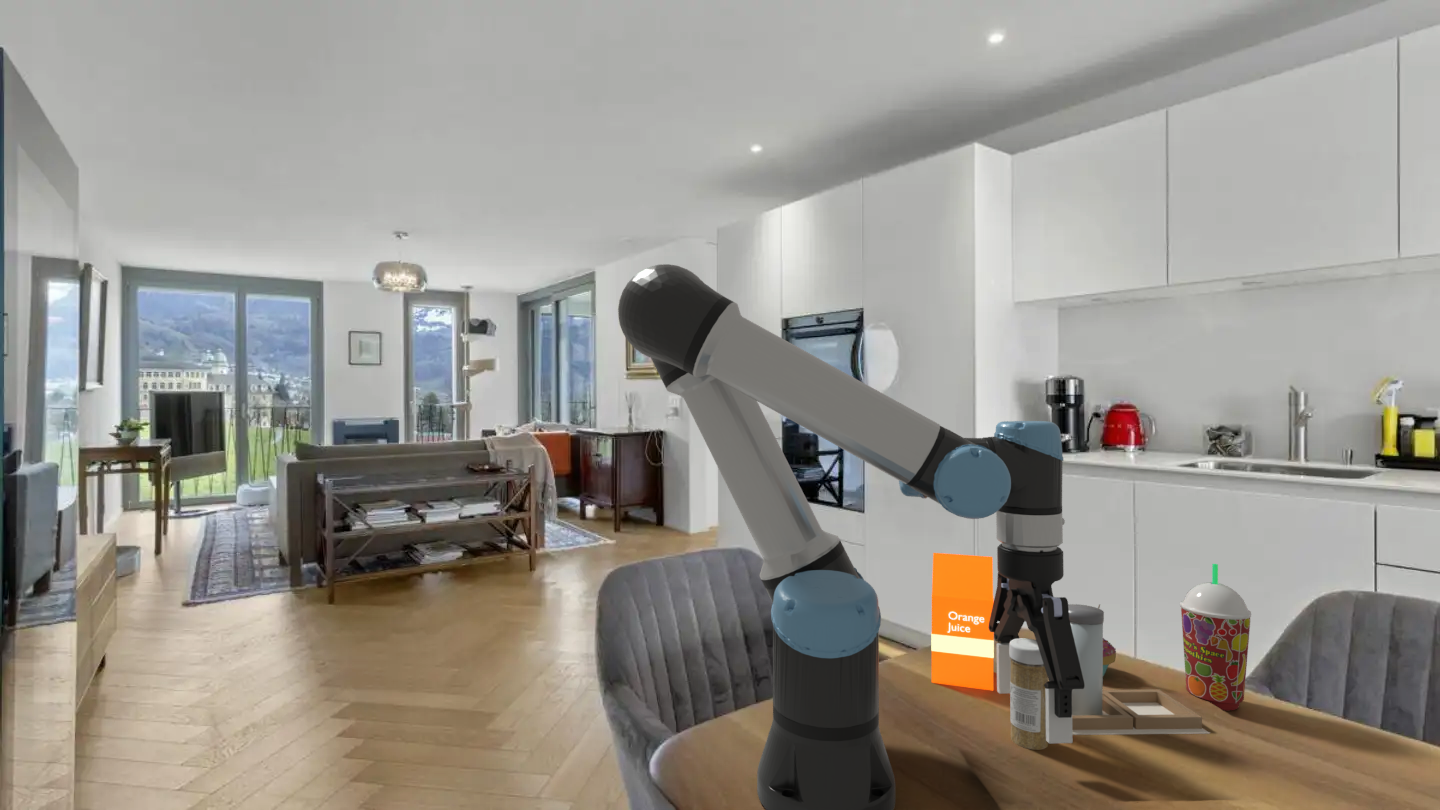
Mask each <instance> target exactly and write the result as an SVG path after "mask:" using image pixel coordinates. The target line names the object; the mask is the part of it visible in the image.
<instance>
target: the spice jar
mask: <svg viewBox="0 0 1440 810" xmlns="http://www.w3.org/2000/svg"><path fill="white" fill-rule="evenodd" d="M1009 655H1010V660H1011V680H1010V693H1009V695H1010V696H1009V698H1010V699H1009V701H1010V703H1009V705H1010V706H1009V708H1010V712H1009V713H1010V715H1009V716H1010V717H1009V718H1010V719H1009V720H1010V740H1011V741H1012V743H1013V744H1015V745H1017V746H1019V747H1021V748H1024V749H1028V750H1033V751H1034V750H1037V751H1039V750H1045V749H1046V748H1048V746H1049V743H1048V742H1047V741H1046V699H1045V687H1044V685H1045V683H1046V682H1047V681H1049V679H1048V676H1047V673H1046V670H1045V667H1044V664H1043V660H1042V657H1041V654H1040V651H1039V648H1038V645H1037V642H1036V639H1032V638H1026V637H1025V638H1024V637H1023V638H1022V637H1021V638H1020V637H1019V638H1018V639H1013V640H1011V641H1010V644H1009Z"/></svg>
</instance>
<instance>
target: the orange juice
mask: <svg viewBox="0 0 1440 810" xmlns="http://www.w3.org/2000/svg"><path fill="white" fill-rule="evenodd" d="M932 556H933V557H932V578H931V579H932V584H931V634H930V636H931V638H930V640H931V642H930V643H931V644H930V645H931V648H930V649H931V684H932V683H933V684H939V685H947V686H954V687H962V688H963V687H964V688H969V689H977V690H978V689H979V690H984V691H992V692H993V691H994V658H995V653H994V652H995V639H994V632H990V631H989V628H988V627H989V621H990V616H991V612H992V607H993V603H994V599H995V597H994V576H993V575H994V567H993V565H994V564H993V556H985V555H983V556H982V555H972V554H971V555H970V554H958V553H957V554H956V553H943V552H941V553H940V552H933V553H932Z"/></svg>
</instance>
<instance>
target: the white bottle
mask: <svg viewBox="0 0 1440 810" xmlns="http://www.w3.org/2000/svg"><path fill="white" fill-rule="evenodd" d="M1068 609H1069V620H1070V624H1071V628H1072V633H1073V637H1074V641H1075V645H1076V650H1077V654H1078V658H1079V662H1080V667H1081V671H1082V675H1083V680H1084V685H1085V686H1084V689H1073V690H1072V715H1102V698H1103V690H1104V689H1103V688H1104V687H1103V686H1104V685H1103V681H1104V679H1103V678H1104V676H1103V638H1104V634H1103V633H1104V621H1105V620H1104V619H1105V614H1104V613H1105V612H1104V610H1102V609H1101V608H1099V609H1098V607H1095V606H1091V605H1087V604H1077V603H1075V604H1074V603H1072V604H1071V603H1068Z"/></svg>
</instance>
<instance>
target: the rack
mask: <svg viewBox="0 0 1440 810" xmlns="http://www.w3.org/2000/svg"><path fill="white" fill-rule="evenodd" d="M1168 734H1169V735H1183V734H1184V735H1187V734H1188V735H1190V734H1191V735H1192V734H1193V735H1194V734H1196V735H1197V734H1198V735H1199V734H1202V735H1203V734H1204V735H1205V734H1211V732H1210V731H1207V730H1206V729H1205V728H1203V717H1202V716H1201V715H1199V714H1198V713H1196V712H1194V711H1193V710H1192V709H1190V708H1189V707H1187V706H1185V705H1184V704H1182V703H1181V702H1179V700H1176V699H1174V698H1173V697H1171V696H1170V695H1168V694H1167V693H1165V692H1164V691H1162V690H1161V689H1159V688H1158V689H1157V688H1156V689H1103V698H1102V715H1072V736H1083V735H1085V736H1090V735H1092V736H1093V735H1097V736H1098V735H1103V736H1105V735H1109V736H1110V735H1168Z"/></svg>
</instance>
